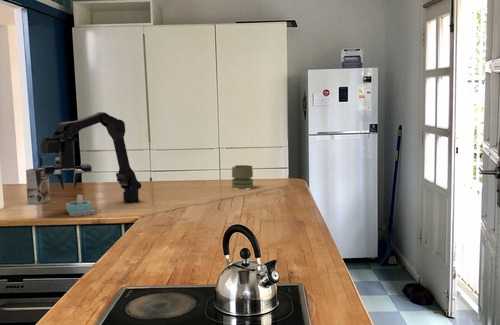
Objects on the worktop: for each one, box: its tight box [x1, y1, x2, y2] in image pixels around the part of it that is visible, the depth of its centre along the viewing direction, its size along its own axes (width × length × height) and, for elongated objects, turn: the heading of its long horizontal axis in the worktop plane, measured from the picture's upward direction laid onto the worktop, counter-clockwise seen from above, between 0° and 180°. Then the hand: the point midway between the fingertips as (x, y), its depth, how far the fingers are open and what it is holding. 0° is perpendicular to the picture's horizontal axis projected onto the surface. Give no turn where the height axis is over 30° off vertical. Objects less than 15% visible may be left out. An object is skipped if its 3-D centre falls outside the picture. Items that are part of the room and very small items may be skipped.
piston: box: [231, 164, 254, 189], centre depth 284 cm, size 11×12×11 cm
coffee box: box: [25, 167, 51, 205], centre depth 247 cm, size 9×6×16 cm
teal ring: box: [65, 200, 93, 212], centre depth 223 cm, size 10×10×2 cm
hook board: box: [65, 194, 96, 217], centre depth 223 cm, size 10×15×8 cm, turn 25°
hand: (68, 189), depth 221 cm, fingers open, 4 cm apart
